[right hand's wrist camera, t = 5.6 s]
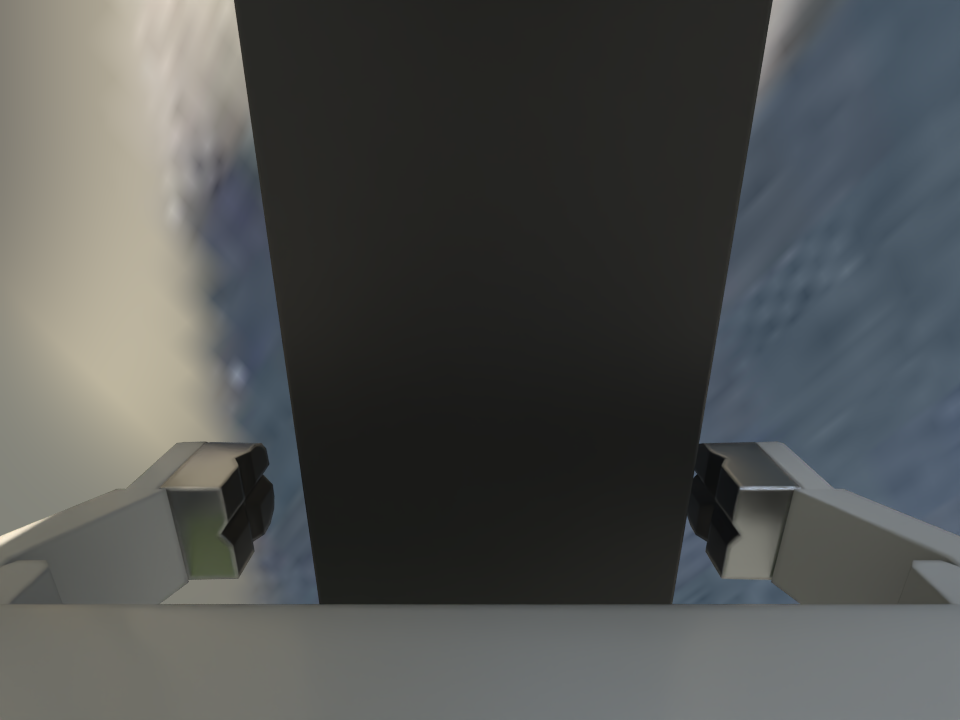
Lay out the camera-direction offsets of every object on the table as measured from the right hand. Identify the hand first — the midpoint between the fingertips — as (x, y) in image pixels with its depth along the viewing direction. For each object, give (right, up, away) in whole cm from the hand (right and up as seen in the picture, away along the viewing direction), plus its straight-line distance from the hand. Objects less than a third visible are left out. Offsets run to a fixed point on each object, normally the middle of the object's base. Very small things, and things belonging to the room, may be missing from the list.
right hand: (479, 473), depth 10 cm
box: (0, +10, +7) cm, 12 cm away
